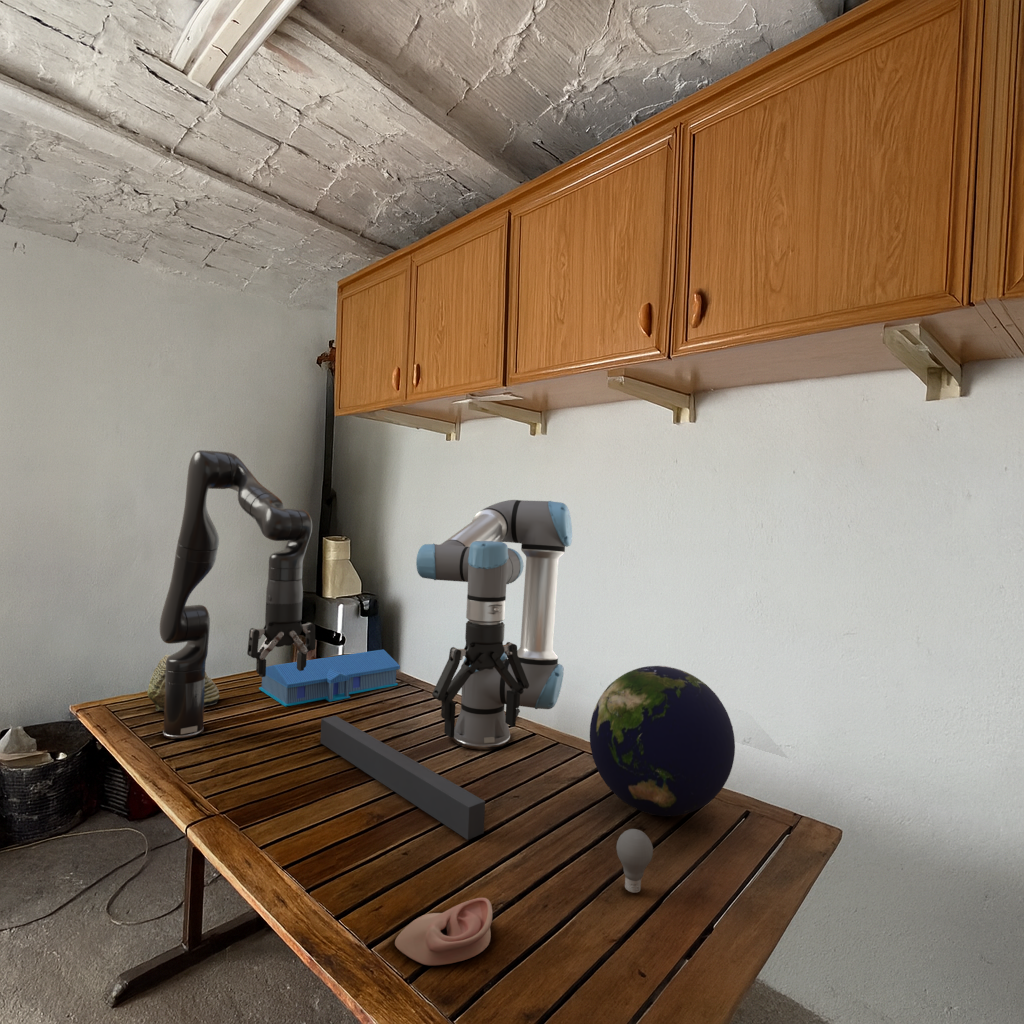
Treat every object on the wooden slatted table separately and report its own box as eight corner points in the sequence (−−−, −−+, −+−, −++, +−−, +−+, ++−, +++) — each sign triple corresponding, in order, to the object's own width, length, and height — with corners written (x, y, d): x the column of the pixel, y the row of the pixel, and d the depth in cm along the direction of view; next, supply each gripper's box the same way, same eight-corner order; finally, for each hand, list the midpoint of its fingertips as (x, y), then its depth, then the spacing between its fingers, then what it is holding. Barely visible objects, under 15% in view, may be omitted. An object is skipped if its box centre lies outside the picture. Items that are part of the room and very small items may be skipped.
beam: (320, 742, 163) (321, 718, 162) (334, 739, 165) (335, 715, 165) (467, 840, 119) (469, 807, 119) (483, 833, 122) (485, 801, 122)
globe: (569, 823, 127) (576, 674, 126) (605, 767, 154) (610, 645, 154) (726, 862, 115) (734, 698, 115) (734, 794, 143) (741, 662, 143)
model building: (289, 709, 186) (291, 675, 185) (258, 688, 204) (259, 657, 204) (403, 687, 212) (405, 657, 212) (366, 670, 230) (368, 643, 230)
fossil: (144, 707, 182) (145, 655, 182) (212, 696, 194) (213, 647, 194) (151, 716, 175) (153, 662, 175) (221, 703, 188) (223, 653, 188)
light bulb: (610, 879, 108) (613, 822, 108) (644, 879, 109) (647, 822, 109) (619, 902, 102) (622, 840, 102) (655, 901, 103) (658, 840, 103)
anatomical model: (387, 929, 88) (416, 881, 99) (385, 957, 88) (415, 906, 99) (479, 947, 85) (498, 895, 96) (478, 976, 85) (497, 921, 96)
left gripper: (307, 594, 146) (305, 664, 147) (244, 599, 137) (242, 673, 137) (322, 599, 141) (319, 672, 141) (258, 604, 131) (255, 682, 131)
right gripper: (434, 629, 113) (429, 747, 113) (549, 620, 126) (544, 726, 126) (418, 621, 119) (413, 733, 120) (528, 614, 133) (524, 714, 133)
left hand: (281, 672), depth 139 cm, fingers open, 8 cm apart
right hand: (480, 730), depth 123 cm, fingers open, 13 cm apart
